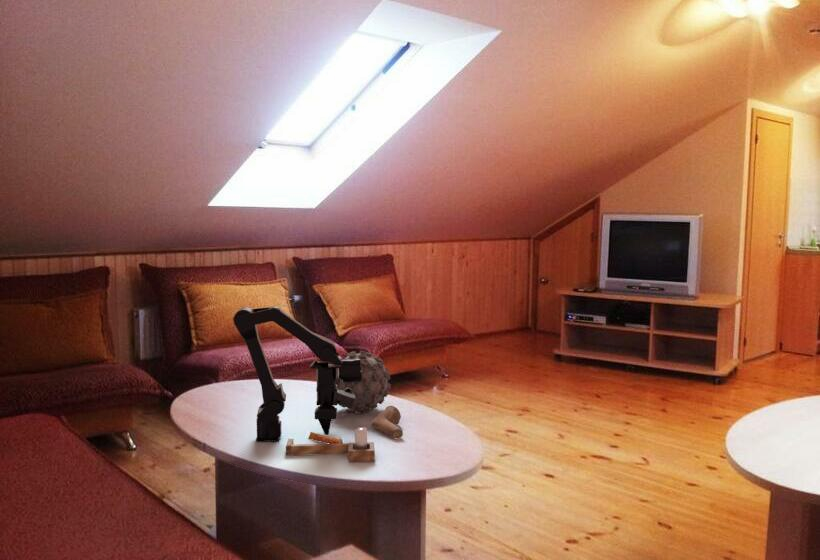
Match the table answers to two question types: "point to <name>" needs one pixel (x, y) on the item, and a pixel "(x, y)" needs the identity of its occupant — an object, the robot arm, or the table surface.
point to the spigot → (360, 438)
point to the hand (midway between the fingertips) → (326, 434)
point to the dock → (333, 450)
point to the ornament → (367, 382)
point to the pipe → (388, 422)
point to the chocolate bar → (324, 438)
